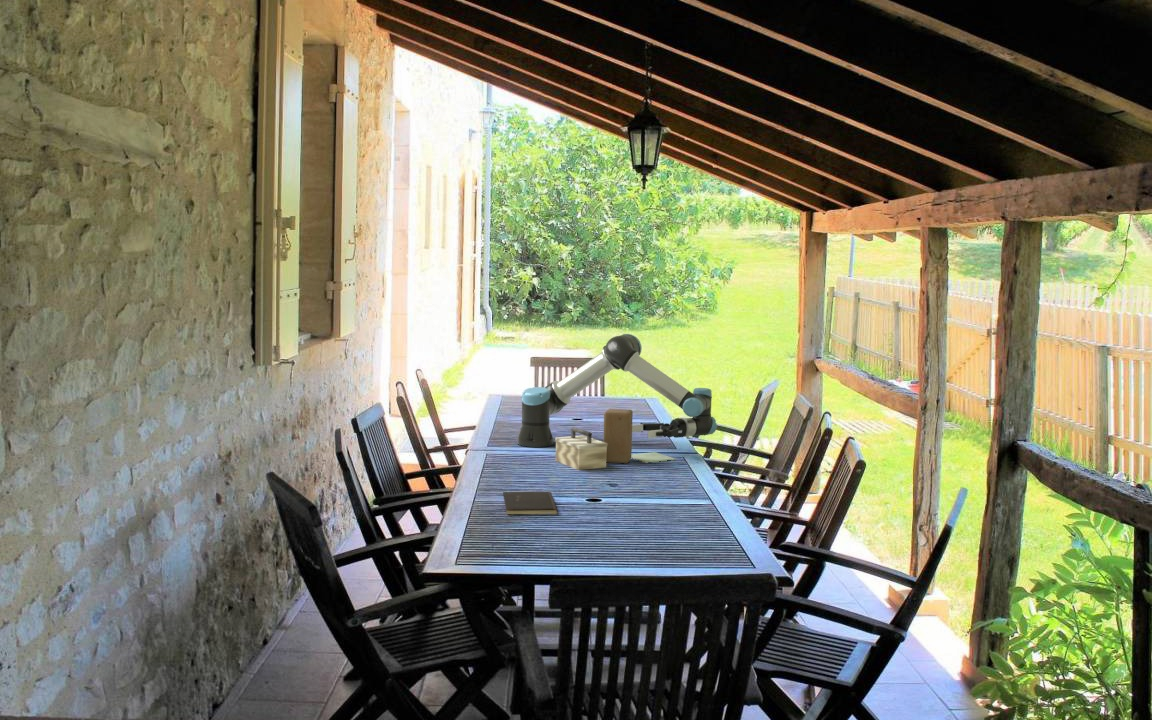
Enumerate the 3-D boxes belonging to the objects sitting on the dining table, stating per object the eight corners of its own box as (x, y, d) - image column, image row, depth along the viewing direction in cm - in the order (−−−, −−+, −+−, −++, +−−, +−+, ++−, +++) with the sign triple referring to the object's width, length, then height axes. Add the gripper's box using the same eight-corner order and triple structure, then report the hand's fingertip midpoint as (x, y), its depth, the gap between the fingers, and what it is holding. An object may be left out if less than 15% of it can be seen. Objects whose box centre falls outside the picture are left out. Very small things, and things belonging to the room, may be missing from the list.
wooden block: (627, 464, 388) (629, 413, 386) (602, 462, 390) (603, 411, 388) (631, 459, 398) (633, 409, 396) (606, 457, 400) (607, 408, 397)
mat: (626, 456, 403) (626, 455, 403) (654, 453, 410) (654, 452, 410) (645, 463, 391) (645, 461, 391) (675, 460, 398) (675, 458, 398)
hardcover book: (505, 516, 310) (505, 509, 309) (502, 498, 332) (502, 491, 332) (557, 516, 311) (557, 509, 311) (551, 498, 334) (551, 491, 334)
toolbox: (554, 460, 391) (555, 426, 390) (583, 458, 398) (584, 424, 396) (578, 470, 376) (579, 434, 374) (608, 467, 382) (609, 432, 381)
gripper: (700, 442, 398) (656, 446, 387) (664, 432, 419) (621, 435, 408) (701, 423, 397) (656, 427, 386) (664, 414, 418) (621, 417, 408)
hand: (638, 431), depth 397 cm, fingers open, 13 cm apart
